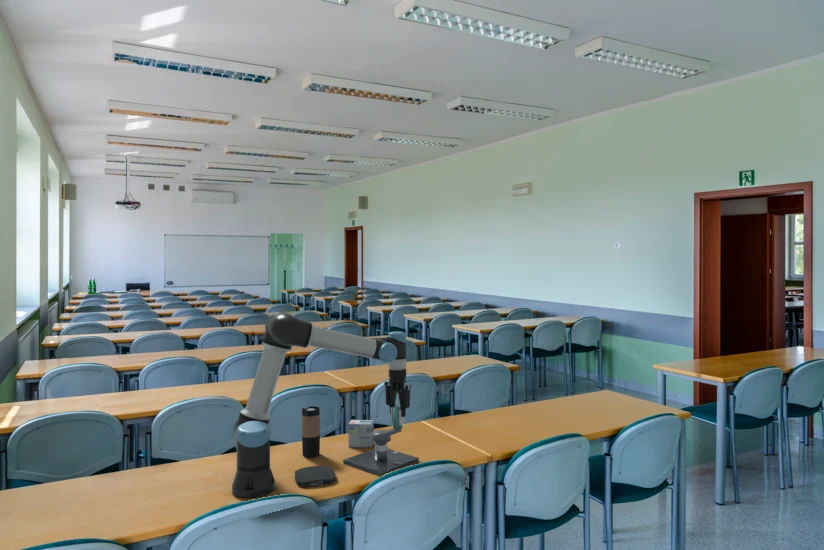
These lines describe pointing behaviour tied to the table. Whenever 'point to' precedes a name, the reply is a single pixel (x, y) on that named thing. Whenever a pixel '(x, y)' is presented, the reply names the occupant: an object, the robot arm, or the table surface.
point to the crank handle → (385, 435)
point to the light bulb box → (360, 433)
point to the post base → (380, 465)
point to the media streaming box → (315, 476)
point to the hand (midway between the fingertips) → (397, 423)
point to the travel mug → (311, 431)
